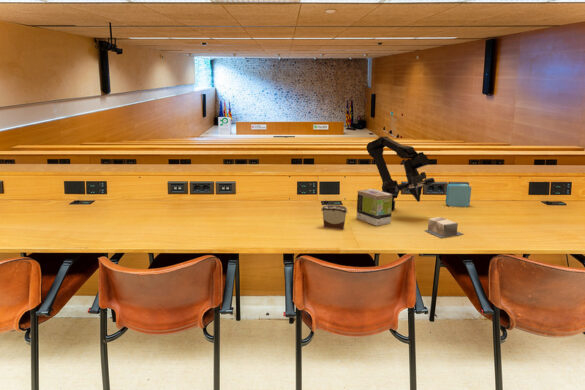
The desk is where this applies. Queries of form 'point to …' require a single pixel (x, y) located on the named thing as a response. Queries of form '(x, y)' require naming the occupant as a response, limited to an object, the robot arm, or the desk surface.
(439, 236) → the mat
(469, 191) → the teal square slab
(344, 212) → the food container
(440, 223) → the cream block
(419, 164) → the robot arm
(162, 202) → the desk surface
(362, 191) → the tea box
